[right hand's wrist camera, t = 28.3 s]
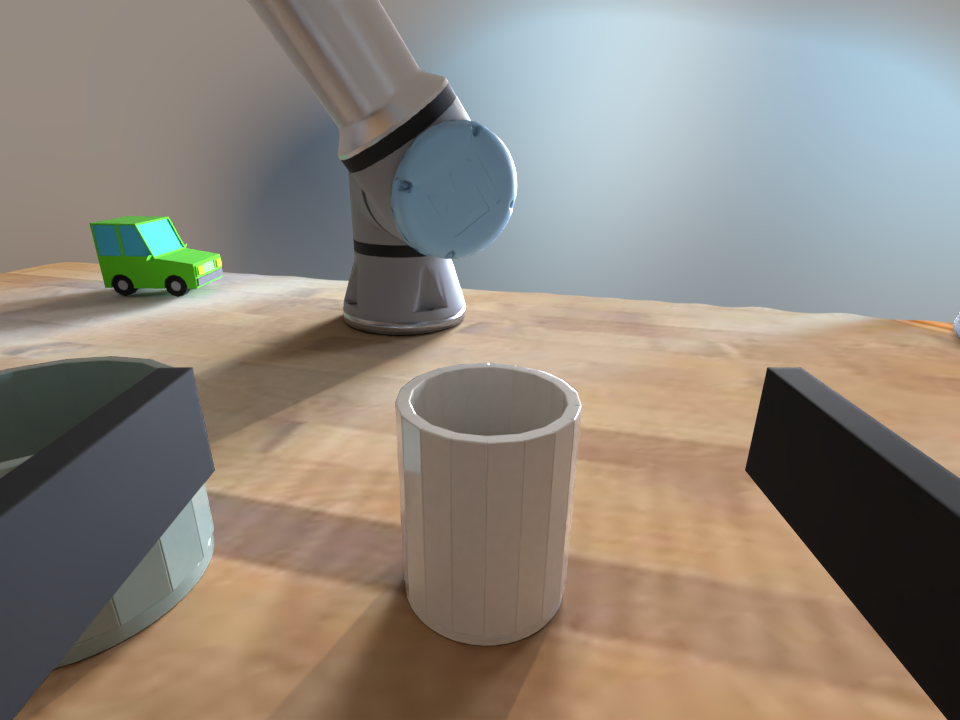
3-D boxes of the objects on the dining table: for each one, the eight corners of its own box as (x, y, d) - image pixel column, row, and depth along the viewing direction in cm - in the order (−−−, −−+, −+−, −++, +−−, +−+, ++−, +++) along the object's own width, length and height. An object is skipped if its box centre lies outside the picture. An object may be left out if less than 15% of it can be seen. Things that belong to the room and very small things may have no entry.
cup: (460, 510, 32) (460, 352, 28) (588, 561, 28) (607, 385, 25) (370, 597, 26) (355, 408, 22) (519, 678, 22) (531, 465, 18)
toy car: (197, 299, 75) (183, 225, 71) (102, 297, 75) (84, 224, 71) (230, 282, 84) (219, 216, 81) (146, 280, 84) (131, 215, 81)
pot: (142, 482, 34) (107, 342, 31) (260, 549, 29) (233, 387, 25) (-108, 601, 25) (-198, 421, 22) (-7, 733, 20) (-107, 520, 16)
